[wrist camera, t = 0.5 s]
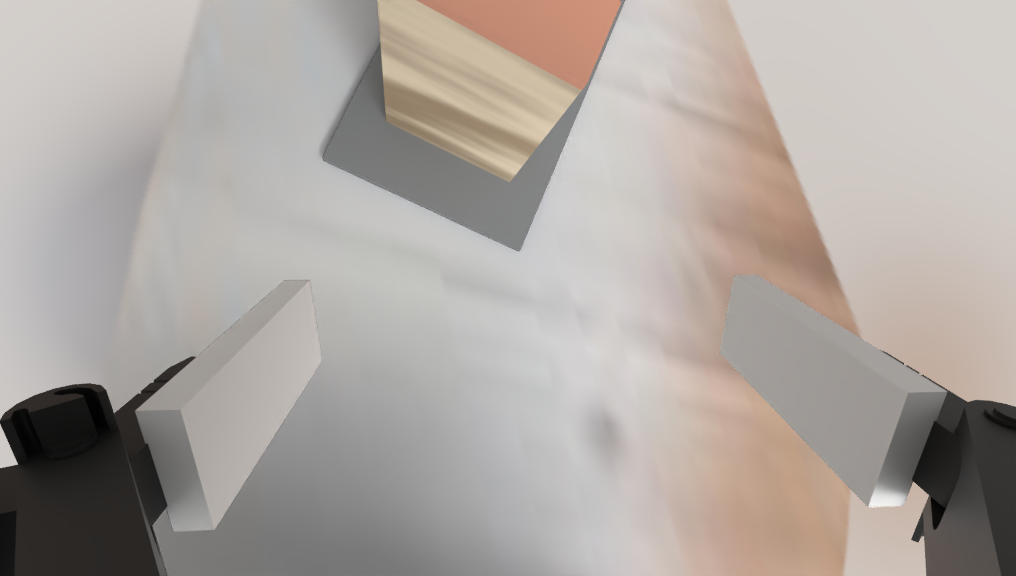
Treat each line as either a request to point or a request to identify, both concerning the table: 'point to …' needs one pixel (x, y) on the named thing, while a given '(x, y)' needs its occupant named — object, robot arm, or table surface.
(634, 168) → the table surface
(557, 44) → the block
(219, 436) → the robot arm
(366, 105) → the mat
